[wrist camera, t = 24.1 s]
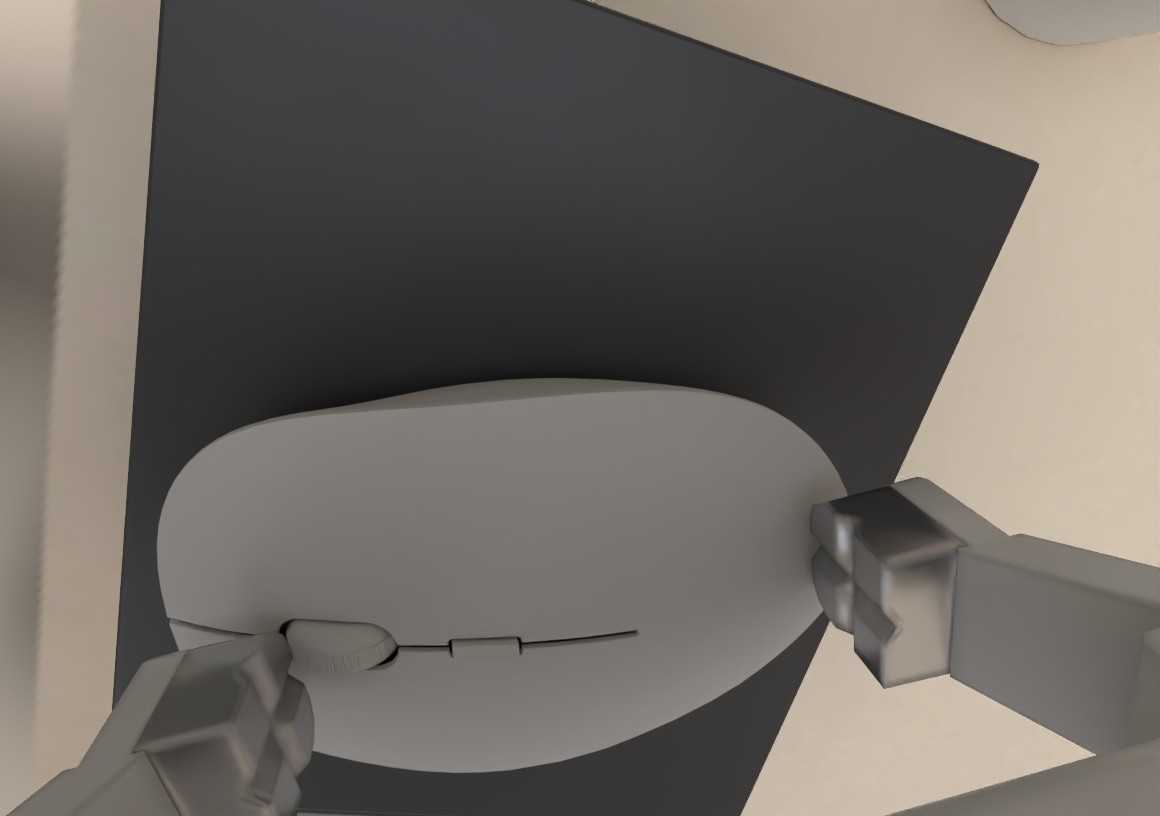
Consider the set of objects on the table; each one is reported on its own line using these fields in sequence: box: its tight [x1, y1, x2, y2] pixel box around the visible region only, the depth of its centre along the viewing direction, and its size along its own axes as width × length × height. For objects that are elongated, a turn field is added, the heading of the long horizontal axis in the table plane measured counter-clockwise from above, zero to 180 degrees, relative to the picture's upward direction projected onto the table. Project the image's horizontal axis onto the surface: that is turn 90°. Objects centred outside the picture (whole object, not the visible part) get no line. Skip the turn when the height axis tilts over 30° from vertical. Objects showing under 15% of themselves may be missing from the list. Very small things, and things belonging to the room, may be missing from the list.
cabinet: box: [112, 0, 1039, 816], centre depth 16 cm, size 15×13×10 cm
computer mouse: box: [157, 378, 848, 773], centre depth 10 cm, size 6×10×3 cm, turn 92°
